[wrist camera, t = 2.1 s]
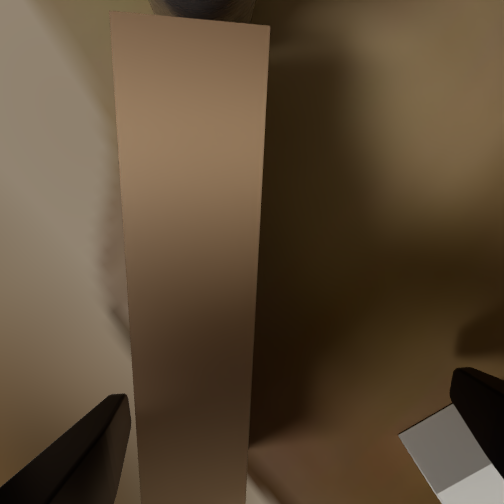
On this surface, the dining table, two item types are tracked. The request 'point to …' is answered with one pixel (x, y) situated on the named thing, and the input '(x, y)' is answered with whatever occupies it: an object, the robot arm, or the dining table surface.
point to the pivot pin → (206, 9)
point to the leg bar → (191, 243)
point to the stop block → (453, 460)
